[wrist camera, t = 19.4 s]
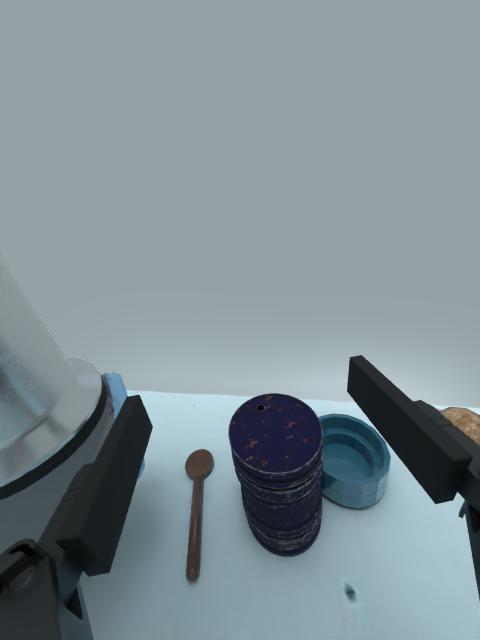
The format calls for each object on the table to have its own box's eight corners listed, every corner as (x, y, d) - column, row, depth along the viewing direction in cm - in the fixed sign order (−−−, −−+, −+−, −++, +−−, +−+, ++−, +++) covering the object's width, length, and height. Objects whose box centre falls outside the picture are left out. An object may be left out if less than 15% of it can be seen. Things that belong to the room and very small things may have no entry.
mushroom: (413, 404, 37) (447, 396, 32) (460, 419, 37) (503, 413, 32) (421, 459, 33) (463, 460, 27) (475, 476, 33) (527, 480, 27)
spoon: (213, 579, 24) (211, 573, 24) (173, 588, 24) (169, 582, 24) (213, 450, 38) (212, 445, 38) (188, 455, 38) (186, 450, 37)
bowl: (307, 501, 30) (306, 476, 27) (306, 434, 38) (305, 411, 36) (396, 519, 27) (403, 491, 25) (372, 442, 36) (376, 417, 33)
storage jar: (340, 527, 27) (347, 443, 21) (269, 580, 24) (253, 498, 18) (291, 457, 35) (286, 382, 29) (234, 488, 32) (215, 412, 26)
